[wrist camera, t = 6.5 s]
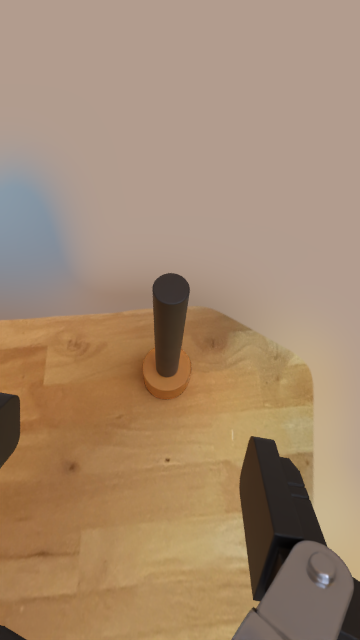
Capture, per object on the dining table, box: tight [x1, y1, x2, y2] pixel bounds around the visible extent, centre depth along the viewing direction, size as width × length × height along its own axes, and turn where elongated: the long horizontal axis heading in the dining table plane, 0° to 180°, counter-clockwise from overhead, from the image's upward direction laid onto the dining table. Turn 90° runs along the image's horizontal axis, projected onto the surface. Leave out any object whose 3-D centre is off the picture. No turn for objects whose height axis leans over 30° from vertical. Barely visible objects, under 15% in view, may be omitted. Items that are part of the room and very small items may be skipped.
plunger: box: [143, 273, 191, 399], centre depth 27 cm, size 5×5×18 cm
